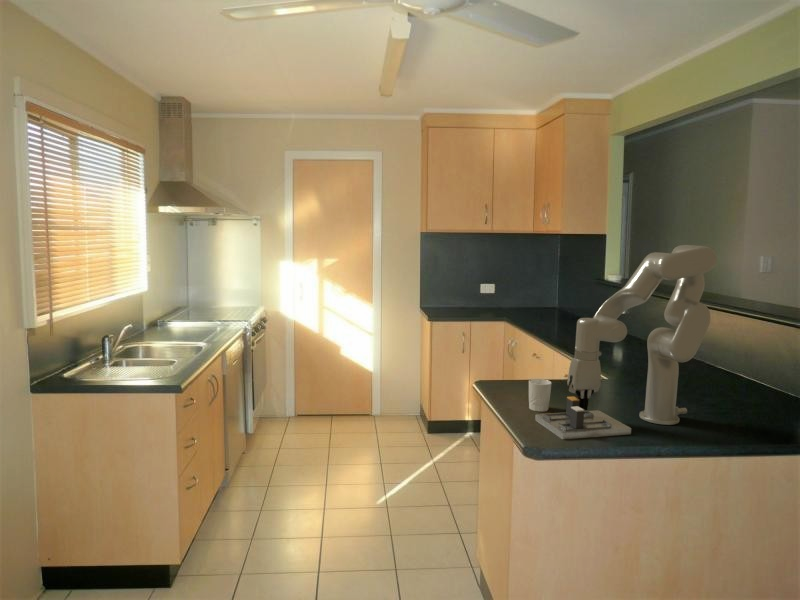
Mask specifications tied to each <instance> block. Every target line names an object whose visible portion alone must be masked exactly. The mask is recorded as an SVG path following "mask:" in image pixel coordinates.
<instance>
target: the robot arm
mask: <svg viewBox="0 0 800 600" xmlns="http://www.w3.org/2000/svg"><path fill="white" fill-rule="evenodd" d="M717 260H718V256H717V253H716V252H715V250H714V249H712V248H711V247H710V246H705V245H693V244H681V245H677V246H676V247H674V248H673V250H672V251H671V252H661V251H660V252H657V251H654V252H650V253H649V254H647V255H646V256H645V257H644V259H642V261H641V263H639V266H638V267H637V268H636V269H635V271H634V272H633V274H632V275H631V276H630V278H629V279H628V280H627V282H626V283H625V285H624V286H623V287H622V288H620V289H619V290H618V291H617V292H615V293H613V295H611V296H610V297H609V298H607V299H606V300H605V301H604V302H603V303H602V304H601V306H600V307H599V308H598V310H597V311H596V313H595V314H594V316H592V317H580V318H579V319H577V321H576V332H575V345H574V357H572V358H571V361H570V363H569V368H568V374H567V381H566V382H567V383H566V385H567V386H568V387H569V388H568V392H570V393H571V394H575V395H576V397H577V399H579V407H580V408H582V409H584V411H586V410H587V411H588V408H589V407H588V406H589V399H591V396H593V394H594V393H597V392H599V391H600V387H601V381H602V380H601V378H602V370H601V361H600V359H599V357H600V356H602V351H600V343H601V341H602V342H609V343H618V342H621V341H623V340H624V339H625V338H626V336H628V328H627V326H626V324H625V323H624V322H623V321H621V320H619V319H618V318H619V317H620V316H621V315H622V314H623V313H624V312H626V311H627V310H629V309H632V308H634V307H637V306H640V305H642V304H645V303H646V302H648V300H649V299H650V298H651V296H652V294H654V292H655V290H656V289H657V288H658V286H660V285H659V284H660V283H661V282H662V281H663V280H666V281H674V280H676V284H675V287H674V289H673V291H672V293H671V295H670V298H669V299H668V302H667V305H666V306H665V309H664V313H663V317H664V320H665V321H666V322H667V324H669V325H671V326H674V327H676V329H673V328H670V327H669V328H668V327H656V328H654V329H653V330H651V332H650V333H649V335H648V337H647V343H646V346H647V348H646V349H647V356H648V357H647V358H648V363H647V366H648V367H647V377H646V387H645V403H644V410H642V411H639V418H640V419H641V420H643V421H645V422H649V423H653V424H655V425H656V424H657V425H663V426H664V425H665V426H666V425H667V426H672V425H673V426H674V425H677V424H679V423H680V420H681V419H680V417H679V416H678V415H680V414H681V415H682V414H688V409H687V408H686V407H680V408H679V406H676V404H677V396H678V395H677V394H678V384H679V383H678V381H679V375H680V374H679V372H680V371H679V369H680V368H679V367H680V366H679V363H686V362H689V361H690V360H692V359H693V357H695V355H696V354H697V352H698V350H699V348H700V346H701V344H702V342H703V339H704V338H705V336H706V333H707V332H708V331H707V330H709V327H710V323H711V312H710V309H709V308H708V306H707V305H705V304H704V303H702V302H701V301H700V300H701V299H702V295H703V294H704V291H705V286H706V285H705V281H706V280H705V275H704V274H705V273H708V272H711V270H713V269H714V267H716V264H717V262H718V261H717Z"/></svg>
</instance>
